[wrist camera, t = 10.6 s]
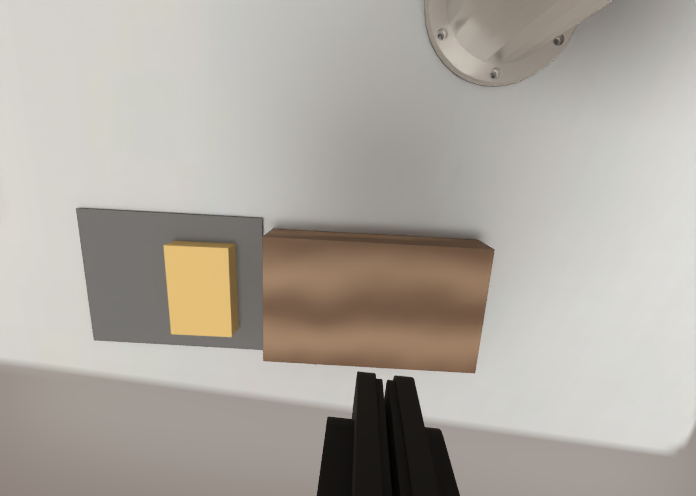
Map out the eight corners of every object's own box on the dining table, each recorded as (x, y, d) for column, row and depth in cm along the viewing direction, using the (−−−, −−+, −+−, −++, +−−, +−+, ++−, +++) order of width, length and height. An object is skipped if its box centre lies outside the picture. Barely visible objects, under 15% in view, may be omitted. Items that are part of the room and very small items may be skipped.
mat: (79, 208, 33) (75, 208, 32) (263, 217, 33) (261, 218, 32) (96, 338, 36) (93, 340, 36) (263, 347, 36) (262, 349, 35)
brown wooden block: (273, 228, 33) (262, 236, 29) (477, 239, 33) (494, 249, 29) (273, 339, 36) (263, 361, 32) (461, 350, 35) (474, 373, 32)
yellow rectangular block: (228, 248, 31) (235, 243, 33) (163, 245, 31) (174, 240, 33) (231, 337, 33) (238, 327, 35) (171, 334, 33) (181, 324, 35)
